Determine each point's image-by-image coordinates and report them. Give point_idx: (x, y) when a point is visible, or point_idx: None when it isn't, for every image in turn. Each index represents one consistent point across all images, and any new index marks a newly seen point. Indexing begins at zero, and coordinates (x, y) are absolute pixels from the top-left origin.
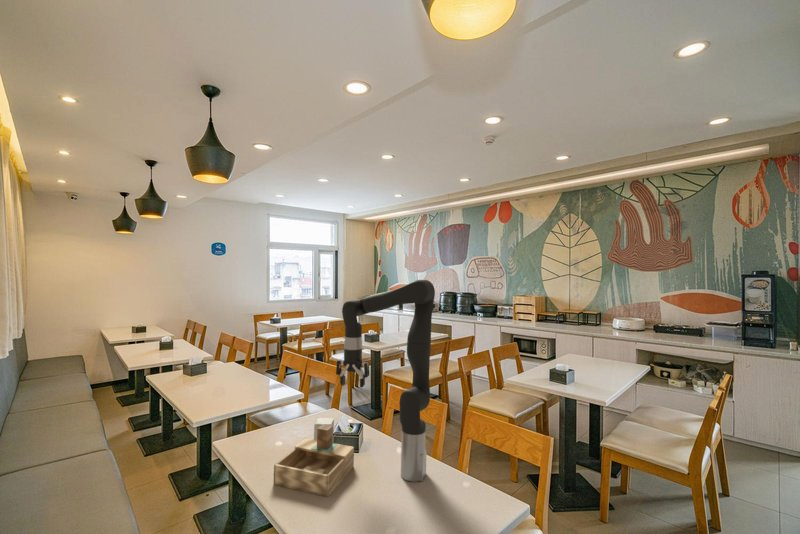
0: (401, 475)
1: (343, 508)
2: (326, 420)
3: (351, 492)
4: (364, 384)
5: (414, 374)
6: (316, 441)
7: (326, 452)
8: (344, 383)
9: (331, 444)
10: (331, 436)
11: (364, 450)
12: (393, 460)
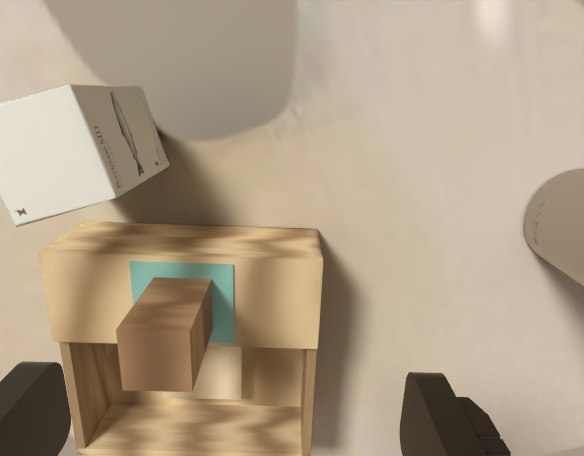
0: (530, 245)
1: (373, 434)
2: (47, 148)
3: (370, 369)
4: (484, 427)
5: None
6: (112, 267)
7: (221, 344)
8: (50, 393)
9: (210, 291)
10: (202, 315)
11: (312, 73)
12: (475, 125)
